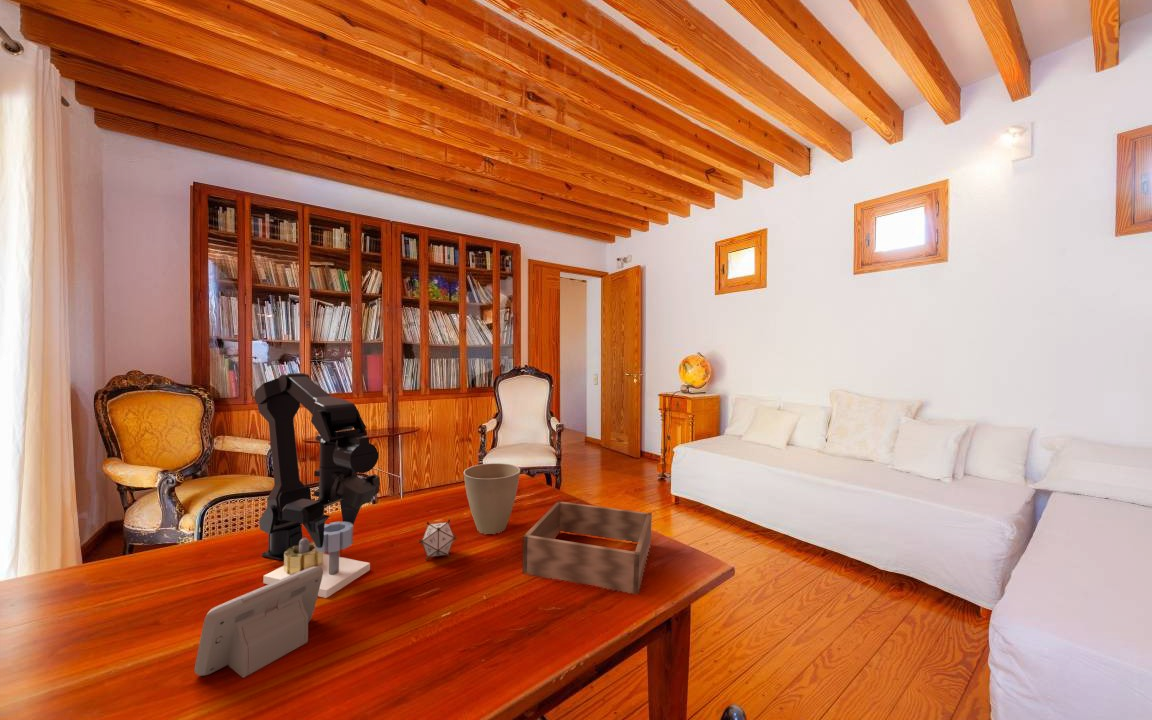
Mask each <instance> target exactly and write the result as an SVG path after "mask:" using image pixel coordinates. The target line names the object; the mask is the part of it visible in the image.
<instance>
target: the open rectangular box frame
mask: <svg viewBox="0 0 1152 720" xmlns="http://www.w3.org/2000/svg"><path fill="white" fill-rule="evenodd" d="M652 517H653V515H652V512H651V513H650V512H645V511H635V510H628V509H619V508H611V507H605V506H596V505H588V504H582V503H575V502H574V503H573V502H566V501H559V500H557V502H555V503H554V504H553V506H552V507H550V509H548V511H547V512H546V513H544V515H543V516H542V517H540V519H539V520H537V522H536V523H535V524H534V525H533V526H532V527H531V528H530V529H528V531H526V532H525V534H524V535H523V536H522V537H523V538H522V541H523V542H522V574H523V573H526V574H525V575H529V574H530V576H534V575H535V576H536V577H540V578H545V579H550V578H552V580H555V579H560V580H559V581H561V580H565V581H564V582H566V581H570V582H569V583H572V582H576V583H575V584H577V583H582V584H588V585H595V586H599V587H603V588H602V589H604V588H607V589H606V590H609V589H612V590H611V591H615V590H617V591H616V592H620V591H622V593H625V592H627V594H631V593H633V594H632V595H636V594H638V593H639V592H640V590H639V589H641V586H642V582H641V581H642V580H643V578H642V576H643V577H644V574H643V572H644V573H645V570H644V568H645V569H646V566H645V564H646V565H647V562H646V560H647V561H648V558H647V556H648V557H649V554H648V552H649V553H650V550H649V548H650V549H651V546H650V544H651V545H652V520H653V519H652ZM559 531H564V532H570V533H578V534H584V535H591V536H598V537H605V538H612V539H619V540H626V541H632V542H638V544H637V545H636V548H635V550H634V551H633V550H632V551H631V550H626V549H620V548H612V547H607V546H601V545H594V544H587V543H581V542H575V541H568V540H562V539H556V538H555V539H554V537H555V536H556V535H557V533H558V532H559ZM557 536H558V535H557ZM582 584H581V585H582ZM588 585H587V586H588ZM640 585H641V586H640ZM638 595H639V594H638Z"/></svg>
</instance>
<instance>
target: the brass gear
mask: <svg viewBox="0 0 1152 720" xmlns="http://www.w3.org/2000/svg"><path fill="white" fill-rule="evenodd" d="M323 554H324V553H322V552H318V551H316V550H315V543H314V542H313V541H312V542H311V541H309V552H306V553H303V554H299V544H298V545H295V546H293V547H290V548H289V549H288V550H286V551H285V553H284V560H283V566H284V571H285V572H286V573H290V574H295V573H298V572H300V571H303V570H305V569H308V568H310V567H318V566H320V565H321V564H322V563H323Z"/></svg>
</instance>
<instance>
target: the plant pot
mask: <svg viewBox="0 0 1152 720" xmlns="http://www.w3.org/2000/svg"><path fill="white" fill-rule="evenodd" d="M520 475H521V468H520V467H518V466H517V465H515V464H510V463H509V464H508V463H501V462H500V463H498V462H497V463H495V462H494V463H493V462H492V463H481V464H477V465H472V466H470V467H468V468H465V469H464V471H463V480H464V485H465V486H464V487H465V491H466V497H467V501H468V505H469V508H470V512H471V515H472V518H473V521H474V523H475V527H476V529H477V532H478V531H479V532H478V533H479V534H482V533H484V534H483V535H486V534H493V535H497V534H496V533H498V534H501V533H503V532H504V531H505V530H506V528H507V525H508V522H509V521H510V518H511V514H512V511H513V508H514V504H515V500H516V496H517V492H518V486H519V481H520ZM502 531H503V532H502ZM500 532H501V533H500Z"/></svg>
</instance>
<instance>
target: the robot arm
mask: <svg viewBox="0 0 1152 720" xmlns="http://www.w3.org/2000/svg"><path fill="white" fill-rule="evenodd" d="M254 401H255V404H256V405H257V409H258V413H259V414H260V415H261V416H262V417H263V418H264V419H265V420H266V422H267V423H268V430H269V432H268V433H269V441H270V449H271V450H270V451H271V461H272V470H273V471H272V472H273V482H274V486H273V487H272V489H271V492H270V493H269V495H268V496H267V498H266V499H267V500H266V501H267V502H266V503H267V504H266V506H267V507H266V508H265V509H264V512H263V513H262V515H261V517H259V519H258V523H259V530H260V531H262V532H264V533H266V534H268V546H267V547H268V549H267V551H263V552H262V553H261V557H265V558H269V559H275V560H278V561H284V553H285V551H286V550H288V549H289V548H290V547H293V546H295V545H298V544H299V542H300V540H301V539H303V538H304V537H303V527H304V528H305V530H306V531H307V533H308V534H309V536H310V538H311V540H312V542H314V543H315V545H316V547H318V548H321V547H322V546H323V540H324V525H325V524H326V523H325V522H326V521H327V520H329V518H330V515H327V514H325V509H326V508H327V507H330V506H333V505H334V504H337V503H339V505H340V510H341V511H340V512H341V518H342V519H341V520H342V522H343V521H345V522H351V524H353V526H354V524H355V522H356V519H357V517H358V515H359V511H360V510H361V507H362V506H364V505H365V504H367V503H368V504H369V503H371V502H372V500H373V498H374V496H375V495H377V494H379V492H380V486H381V479H380V478H381V477H380V476H379V475H377V474H375V473H374V474H371V475H369V476H367V477H365V476H364V477H359V476H358V474H365V473H367V472H370V471H372V470H373V469H374V468H375V466H376V465H377V463H378V461H379V454H380V453H379V451H378V449H377V446H375V445H374V444H372V443H370V437H369V436H368V432H367V430H366V429H367V426H366V424H365V423H364V421H363V419H362V416H361V415H360V411H359V409H358V408H357V406H356V405H355V404H354V403H353V402H351V401H349V400H346V399H344V398H340V397H339V398H338V397H334V396H333V395H331V394H329V393H328V392H327V391H325V390H324V389H323V388H322V387H321V386H319V384H317V383H316V382H315V381H313V380H312V379H311V378H310V375H309V374H308V373H305V372H297V373H296V372H291V373H290V372H288V373H287V372H286V373H284V374H281V375H280V376H279V377H277V378H274V379H271V380H269V381H266V382H264V383H262V384H261V385H260V386H259V387H258V388H256V390H255V392H254ZM301 406H303V407H304V408H305V409H306V410H307V411H308V412H310V414H311V419H310V423H311V424H312V425H313V426H314V428H315V430H316V431H317V432H318V434H317V436H316V437H315V440H316V441H317V442H319V462H318V463H319V464H318V465H319V469H316V470H314V474H313V475H314V477H318V489H316V490H314V491H313V497H316V498H317V497H318V499H315V500H314V499H313V498H312V493H311V492H312V490H311V487H310V486H308V485H307V486H306V485H305V484H304V483H303V482H302V480H301V478H300V469H299V462H298V451H297V442H296V431H295V423H294V418H295V417H296V415H297V413H298V411H299V409H300V408H301Z"/></svg>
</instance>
